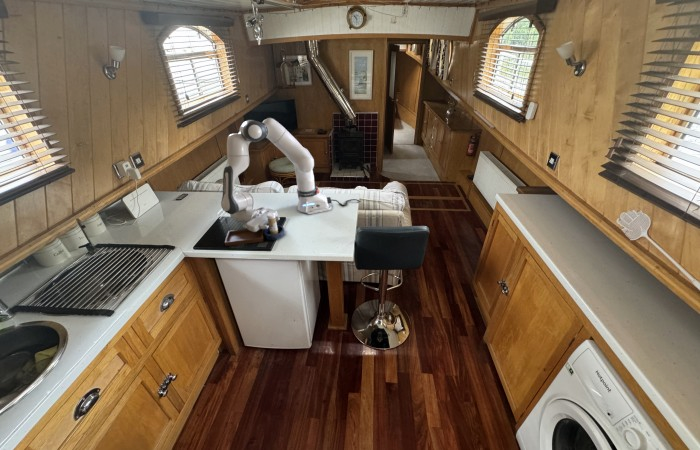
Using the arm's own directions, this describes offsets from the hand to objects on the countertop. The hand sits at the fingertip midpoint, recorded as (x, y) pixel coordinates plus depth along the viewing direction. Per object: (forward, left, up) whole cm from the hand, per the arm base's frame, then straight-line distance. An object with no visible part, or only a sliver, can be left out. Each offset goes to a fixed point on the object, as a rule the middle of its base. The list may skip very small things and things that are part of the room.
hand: (273, 222), depth 158 cm
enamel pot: (+1, 0, -8) cm, 8 cm away
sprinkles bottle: (+1, 0, -8) cm, 8 cm away
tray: (+17, 0, -8) cm, 18 cm away
